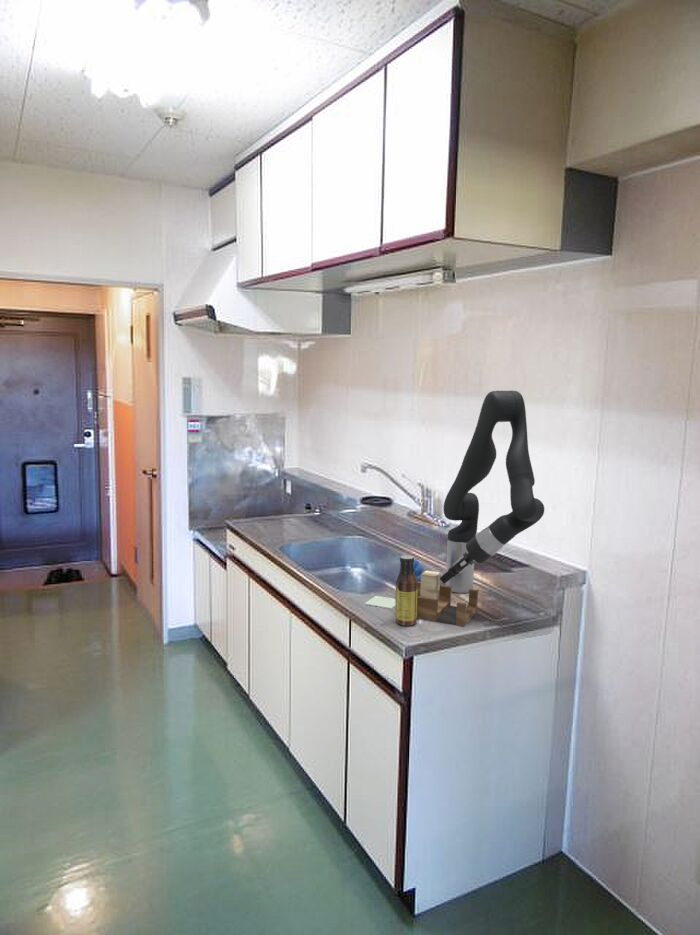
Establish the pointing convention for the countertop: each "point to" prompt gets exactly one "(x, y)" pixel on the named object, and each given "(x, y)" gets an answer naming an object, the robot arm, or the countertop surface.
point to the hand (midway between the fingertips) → (446, 577)
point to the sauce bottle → (406, 593)
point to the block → (430, 584)
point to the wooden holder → (446, 607)
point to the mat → (382, 602)
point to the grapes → (417, 570)
